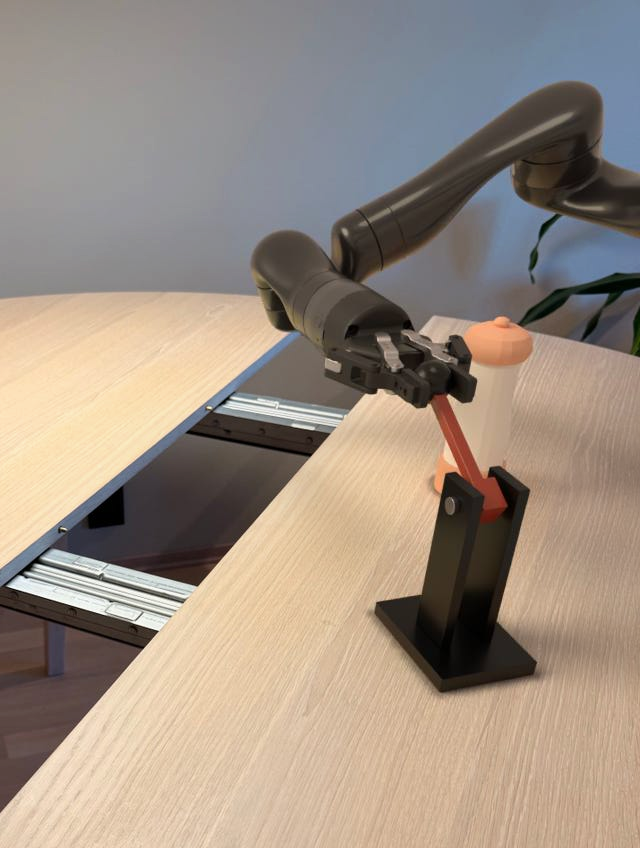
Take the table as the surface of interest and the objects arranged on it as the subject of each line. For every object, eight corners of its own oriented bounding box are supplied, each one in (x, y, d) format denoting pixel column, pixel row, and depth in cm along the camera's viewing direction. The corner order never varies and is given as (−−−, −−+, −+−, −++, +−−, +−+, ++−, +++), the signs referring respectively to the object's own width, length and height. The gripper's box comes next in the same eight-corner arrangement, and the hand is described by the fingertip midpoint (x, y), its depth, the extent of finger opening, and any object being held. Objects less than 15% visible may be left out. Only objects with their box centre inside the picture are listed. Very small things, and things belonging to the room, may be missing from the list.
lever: (396, 381, 85) (412, 353, 82) (433, 377, 86) (450, 349, 82) (459, 530, 79) (479, 506, 76) (498, 525, 80) (519, 500, 77)
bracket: (373, 613, 90) (400, 455, 81) (460, 598, 92) (496, 443, 83) (439, 692, 81) (477, 524, 72) (534, 674, 83) (583, 508, 74)
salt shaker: (512, 489, 110) (554, 318, 99) (476, 510, 106) (516, 334, 95) (457, 467, 115) (490, 301, 103) (420, 486, 111) (451, 316, 99)
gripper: (416, 360, 98) (513, 428, 85) (284, 374, 95) (363, 446, 81) (428, 283, 94) (533, 342, 80) (290, 294, 90) (376, 358, 77)
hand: (447, 394), depth 81 cm, fingers closed on lever, 3 cm apart
